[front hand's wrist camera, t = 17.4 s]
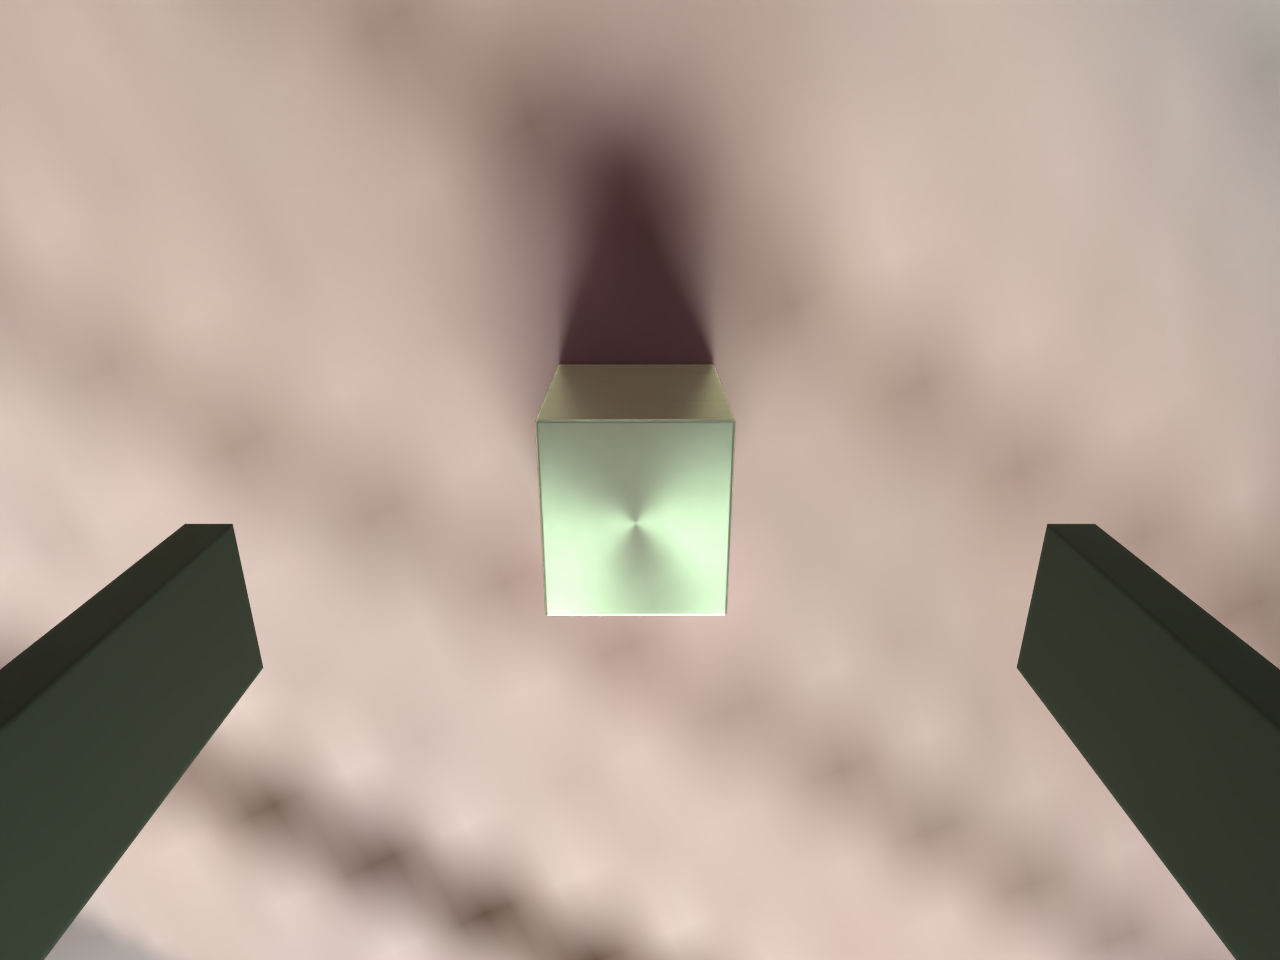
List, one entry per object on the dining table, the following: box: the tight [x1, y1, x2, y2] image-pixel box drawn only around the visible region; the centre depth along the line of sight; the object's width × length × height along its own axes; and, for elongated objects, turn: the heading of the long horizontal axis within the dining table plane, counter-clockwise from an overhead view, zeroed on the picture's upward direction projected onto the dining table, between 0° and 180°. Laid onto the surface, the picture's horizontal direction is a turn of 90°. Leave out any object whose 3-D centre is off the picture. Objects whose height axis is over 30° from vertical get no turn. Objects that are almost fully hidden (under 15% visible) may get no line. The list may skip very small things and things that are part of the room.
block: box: [535, 364, 736, 616], centre depth 19 cm, size 5×4×5 cm
